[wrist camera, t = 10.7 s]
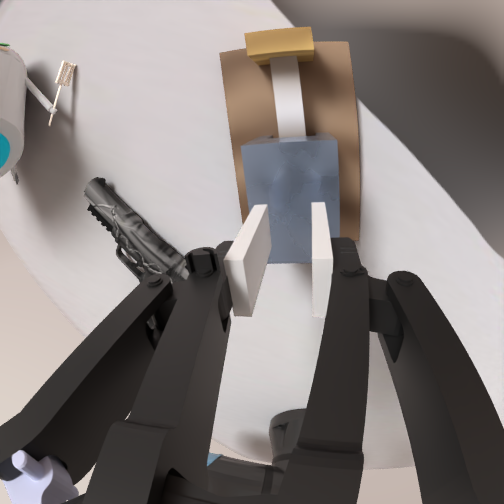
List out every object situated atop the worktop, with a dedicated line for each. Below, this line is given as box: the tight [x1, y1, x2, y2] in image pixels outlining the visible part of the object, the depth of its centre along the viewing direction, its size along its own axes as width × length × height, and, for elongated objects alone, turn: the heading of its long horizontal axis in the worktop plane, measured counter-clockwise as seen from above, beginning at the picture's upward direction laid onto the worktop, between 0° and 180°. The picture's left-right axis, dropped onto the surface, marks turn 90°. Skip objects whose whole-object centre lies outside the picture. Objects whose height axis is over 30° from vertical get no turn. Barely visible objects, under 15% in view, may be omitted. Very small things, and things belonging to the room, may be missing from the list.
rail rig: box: [220, 27, 360, 241], centre depth 23 cm, size 20×12×6 cm, turn 7°
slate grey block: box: [241, 133, 340, 264], centre depth 23 cm, size 9×6×8 cm
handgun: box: [84, 177, 189, 328], centre depth 35 cm, size 20×3×14 cm
